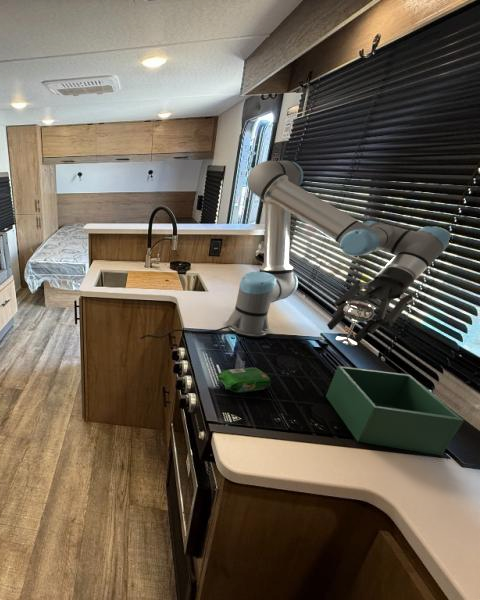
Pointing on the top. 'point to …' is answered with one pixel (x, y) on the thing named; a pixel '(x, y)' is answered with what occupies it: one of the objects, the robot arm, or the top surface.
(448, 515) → the top surface
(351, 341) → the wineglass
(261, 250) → the flower vase
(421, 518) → the top surface
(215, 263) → the top surface
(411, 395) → the open green storage bin
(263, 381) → the snack package
